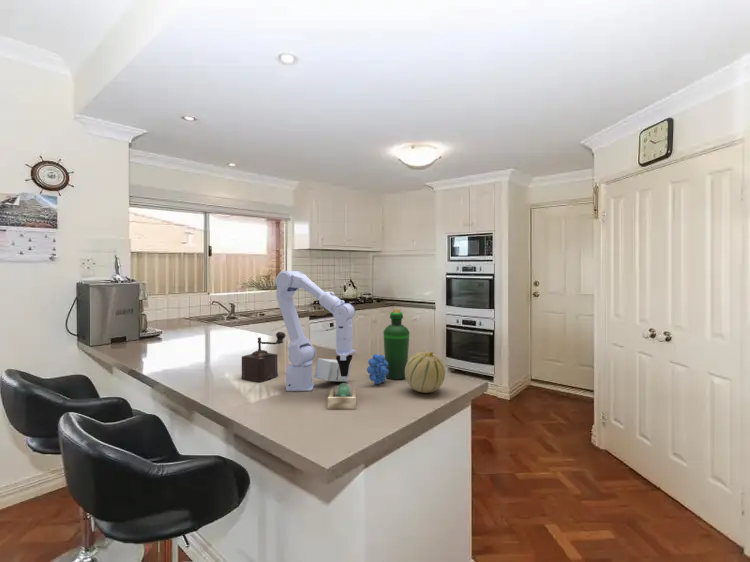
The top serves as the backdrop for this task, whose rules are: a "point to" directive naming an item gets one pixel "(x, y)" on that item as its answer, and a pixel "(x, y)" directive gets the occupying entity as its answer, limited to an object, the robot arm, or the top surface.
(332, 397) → the beech rest
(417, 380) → the cantaloupe
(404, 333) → the bottle
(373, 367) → the grapes
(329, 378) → the supplement box
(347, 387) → the green bottle
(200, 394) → the top surface
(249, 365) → the manual coffee grinder
